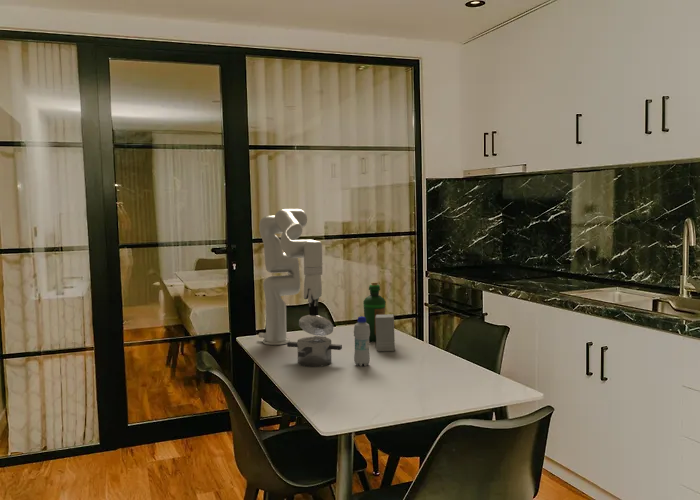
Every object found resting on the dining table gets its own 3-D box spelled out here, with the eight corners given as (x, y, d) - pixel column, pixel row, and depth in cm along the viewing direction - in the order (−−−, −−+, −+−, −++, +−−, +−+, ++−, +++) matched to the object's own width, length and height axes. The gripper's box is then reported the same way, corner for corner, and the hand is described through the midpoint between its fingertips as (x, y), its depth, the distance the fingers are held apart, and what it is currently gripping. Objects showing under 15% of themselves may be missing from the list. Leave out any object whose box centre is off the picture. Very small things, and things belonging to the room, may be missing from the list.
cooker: (273, 370, 240) (273, 347, 239) (295, 355, 263) (295, 334, 263) (329, 374, 234) (329, 351, 233) (346, 359, 257) (346, 337, 257)
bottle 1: (368, 367, 244) (368, 318, 243) (352, 366, 246) (352, 317, 244) (371, 363, 251) (371, 315, 249) (355, 362, 252) (355, 314, 251)
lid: (294, 316, 250) (296, 309, 252) (303, 334, 261) (305, 328, 263) (328, 317, 246) (330, 311, 248) (336, 336, 257) (337, 330, 259)
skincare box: (394, 348, 276) (394, 313, 275) (394, 352, 269) (394, 316, 268) (376, 348, 277) (376, 313, 276) (375, 351, 270) (375, 316, 269)
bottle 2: (386, 342, 288) (386, 283, 285) (363, 342, 288) (363, 283, 286) (385, 337, 298) (385, 280, 296) (363, 337, 298) (363, 280, 296)
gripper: (310, 269, 257) (310, 312, 258) (298, 272, 243) (298, 318, 244) (327, 269, 255) (327, 313, 256) (316, 273, 241) (316, 319, 242)
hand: (313, 315), depth 250 cm, fingers closed
